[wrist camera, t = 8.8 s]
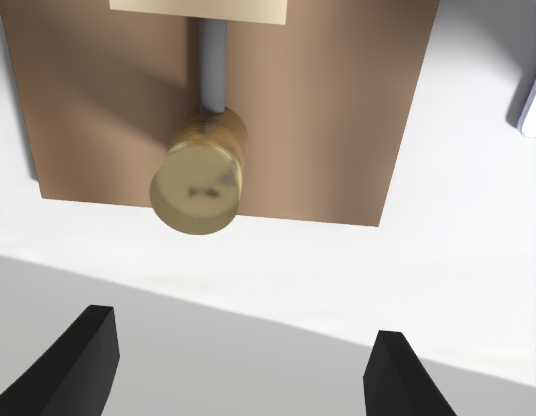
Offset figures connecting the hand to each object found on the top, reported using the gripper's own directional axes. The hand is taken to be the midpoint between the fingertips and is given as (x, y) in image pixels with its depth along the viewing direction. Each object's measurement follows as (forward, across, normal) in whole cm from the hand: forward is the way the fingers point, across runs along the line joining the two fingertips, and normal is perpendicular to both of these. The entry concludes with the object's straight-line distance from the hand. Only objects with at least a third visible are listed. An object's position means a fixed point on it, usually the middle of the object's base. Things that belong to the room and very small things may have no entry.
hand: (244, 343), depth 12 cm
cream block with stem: (+9, +2, -6) cm, 11 cm away
